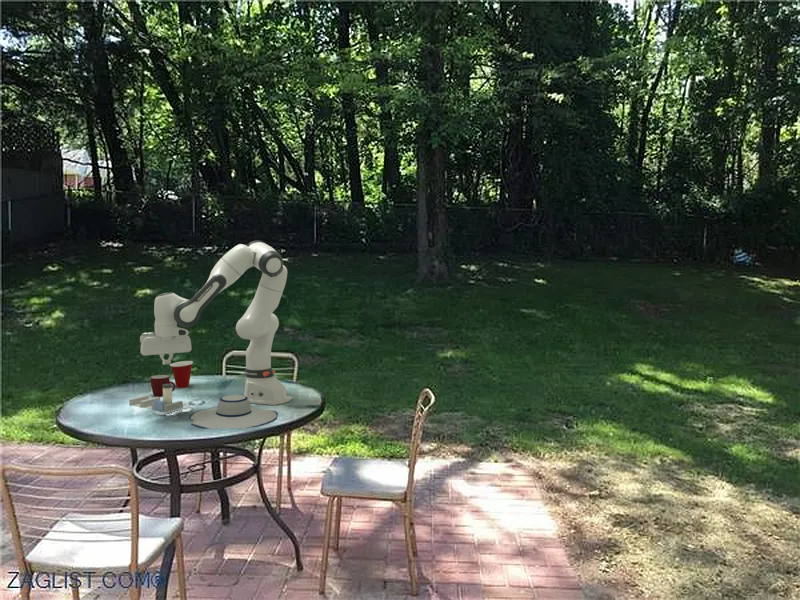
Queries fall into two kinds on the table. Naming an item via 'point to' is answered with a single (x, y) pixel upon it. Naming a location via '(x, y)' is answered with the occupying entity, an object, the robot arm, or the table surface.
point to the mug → (160, 384)
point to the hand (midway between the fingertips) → (166, 364)
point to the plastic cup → (182, 373)
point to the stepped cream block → (155, 404)
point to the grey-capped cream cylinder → (167, 393)
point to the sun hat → (233, 414)
